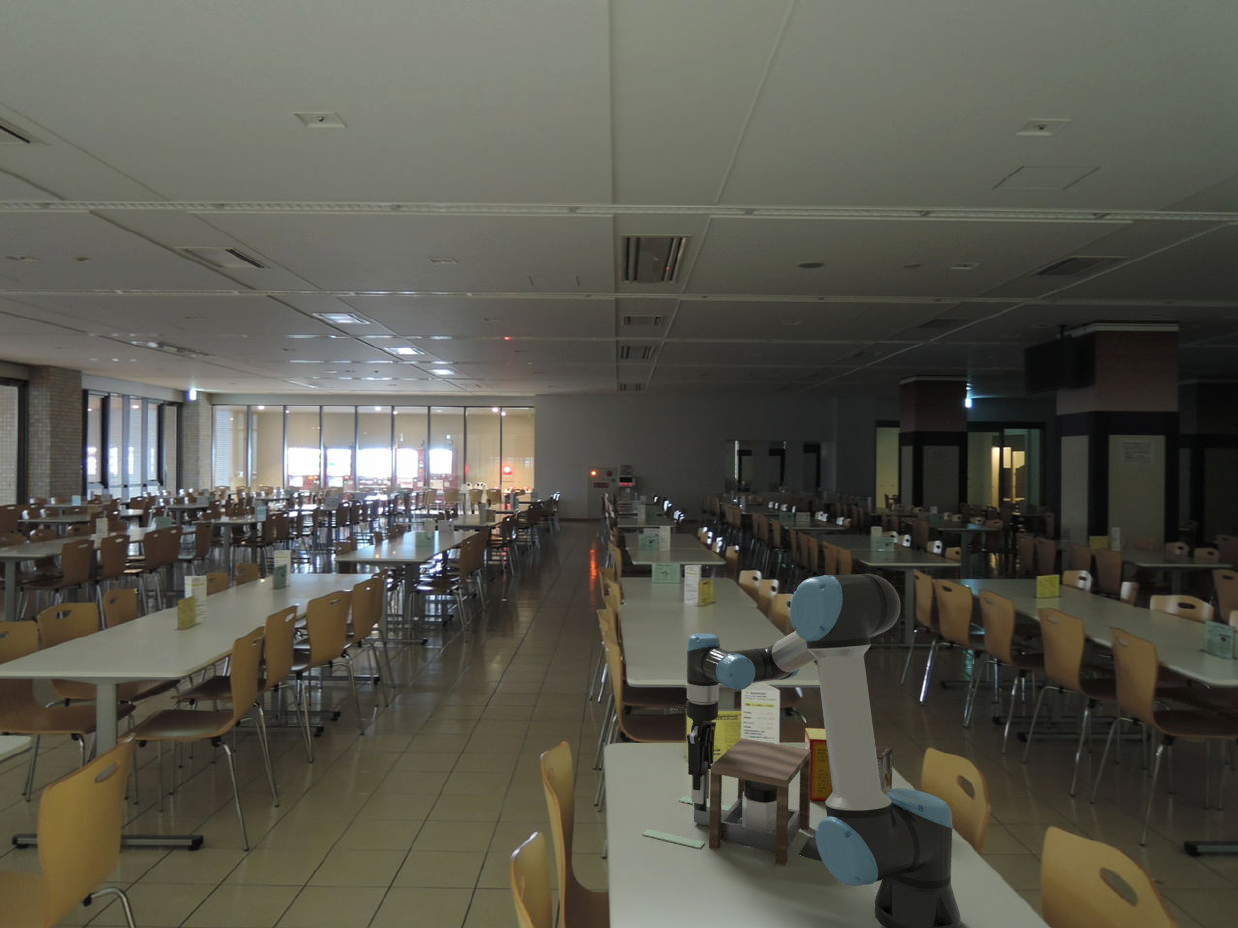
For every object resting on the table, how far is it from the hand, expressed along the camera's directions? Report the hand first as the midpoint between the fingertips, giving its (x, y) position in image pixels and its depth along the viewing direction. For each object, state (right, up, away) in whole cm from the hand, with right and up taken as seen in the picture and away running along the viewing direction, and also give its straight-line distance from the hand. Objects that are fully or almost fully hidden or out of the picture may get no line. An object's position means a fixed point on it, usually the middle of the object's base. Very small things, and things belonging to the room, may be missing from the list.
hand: (700, 799), depth 195 cm
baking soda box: (+33, -7, +19) cm, 39 cm away
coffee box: (+43, -7, +6) cm, 44 cm away
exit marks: (-2, -5, +1) cm, 6 cm away
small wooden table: (+13, -6, -7) cm, 16 cm away
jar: (+13, -6, -7) cm, 16 cm away
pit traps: (+28, -6, -14) cm, 32 cm away
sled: (+9, -5, -5) cm, 11 cm away
